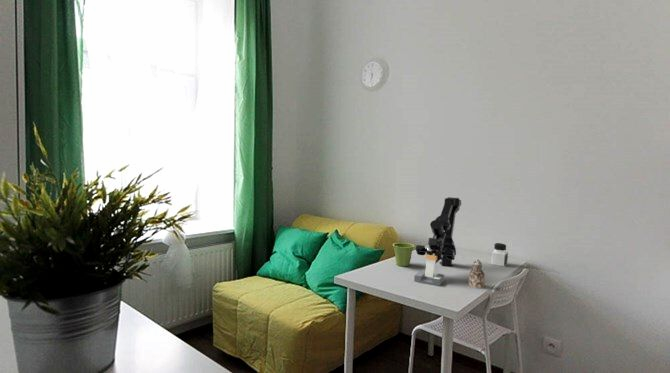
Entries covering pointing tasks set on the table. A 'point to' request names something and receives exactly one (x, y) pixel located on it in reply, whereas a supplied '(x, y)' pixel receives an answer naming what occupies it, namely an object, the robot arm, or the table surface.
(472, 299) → the table surface
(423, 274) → the switch housing
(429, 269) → the switch lever
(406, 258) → the plant pot
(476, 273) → the figurine
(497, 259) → the medicine bottle
